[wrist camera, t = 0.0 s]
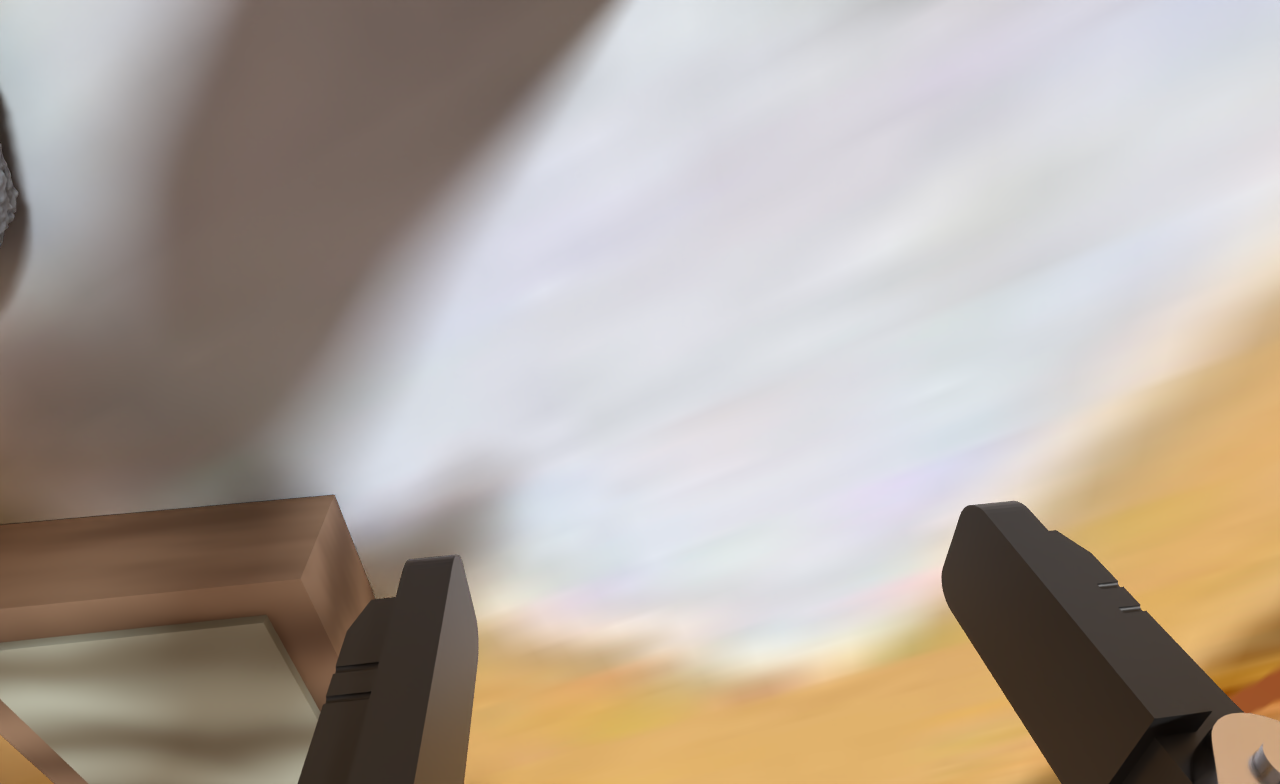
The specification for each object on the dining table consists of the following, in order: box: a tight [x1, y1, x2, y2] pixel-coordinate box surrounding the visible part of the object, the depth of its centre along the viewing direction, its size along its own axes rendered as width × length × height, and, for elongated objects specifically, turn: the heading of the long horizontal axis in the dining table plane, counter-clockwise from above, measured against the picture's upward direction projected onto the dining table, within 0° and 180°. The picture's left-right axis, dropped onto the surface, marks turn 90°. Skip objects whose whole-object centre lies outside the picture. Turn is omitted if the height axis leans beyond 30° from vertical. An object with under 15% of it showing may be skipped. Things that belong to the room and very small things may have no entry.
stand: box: [0, 495, 375, 784], centre depth 33 cm, size 20×16×5 cm
